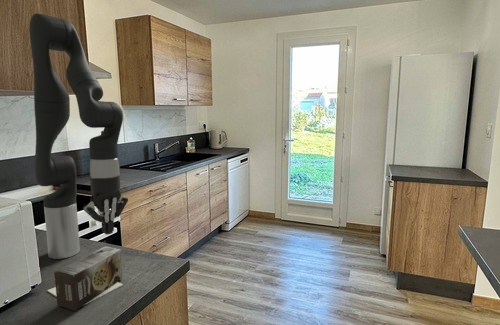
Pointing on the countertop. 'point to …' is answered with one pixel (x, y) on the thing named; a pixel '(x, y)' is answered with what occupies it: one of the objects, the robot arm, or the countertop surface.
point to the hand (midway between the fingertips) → (108, 233)
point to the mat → (111, 288)
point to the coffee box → (88, 277)
